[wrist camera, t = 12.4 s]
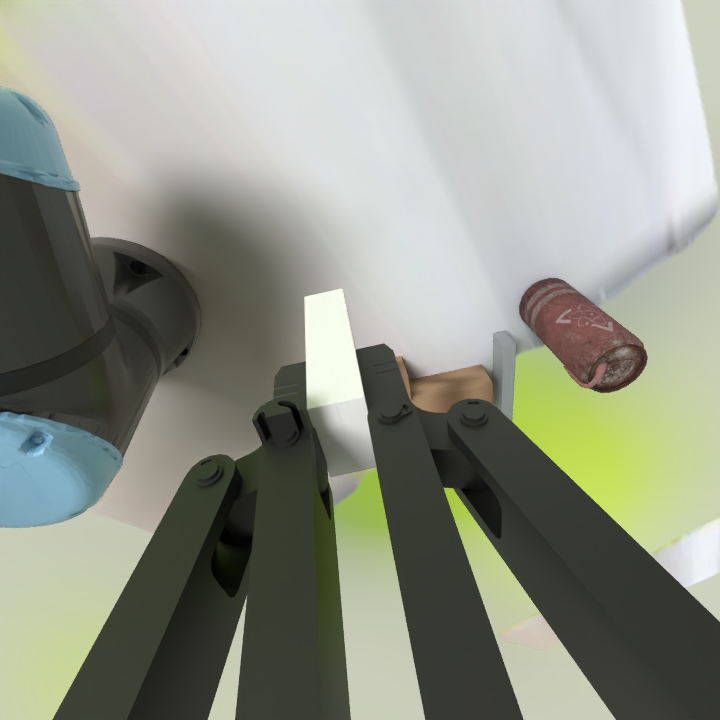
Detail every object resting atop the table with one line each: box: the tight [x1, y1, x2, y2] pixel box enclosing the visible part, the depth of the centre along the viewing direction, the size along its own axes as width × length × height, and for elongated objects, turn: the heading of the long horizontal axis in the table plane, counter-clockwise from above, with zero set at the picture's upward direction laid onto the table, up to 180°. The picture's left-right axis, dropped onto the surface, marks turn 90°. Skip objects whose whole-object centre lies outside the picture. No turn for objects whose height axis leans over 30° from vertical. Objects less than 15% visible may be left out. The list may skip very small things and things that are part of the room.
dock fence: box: [493, 331, 516, 421], centre depth 53 cm, size 12×15×3 cm
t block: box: [395, 356, 493, 413], centre depth 52 cm, size 14×12×4 cm
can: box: [519, 278, 647, 393], centre depth 43 cm, size 6×6×14 cm
